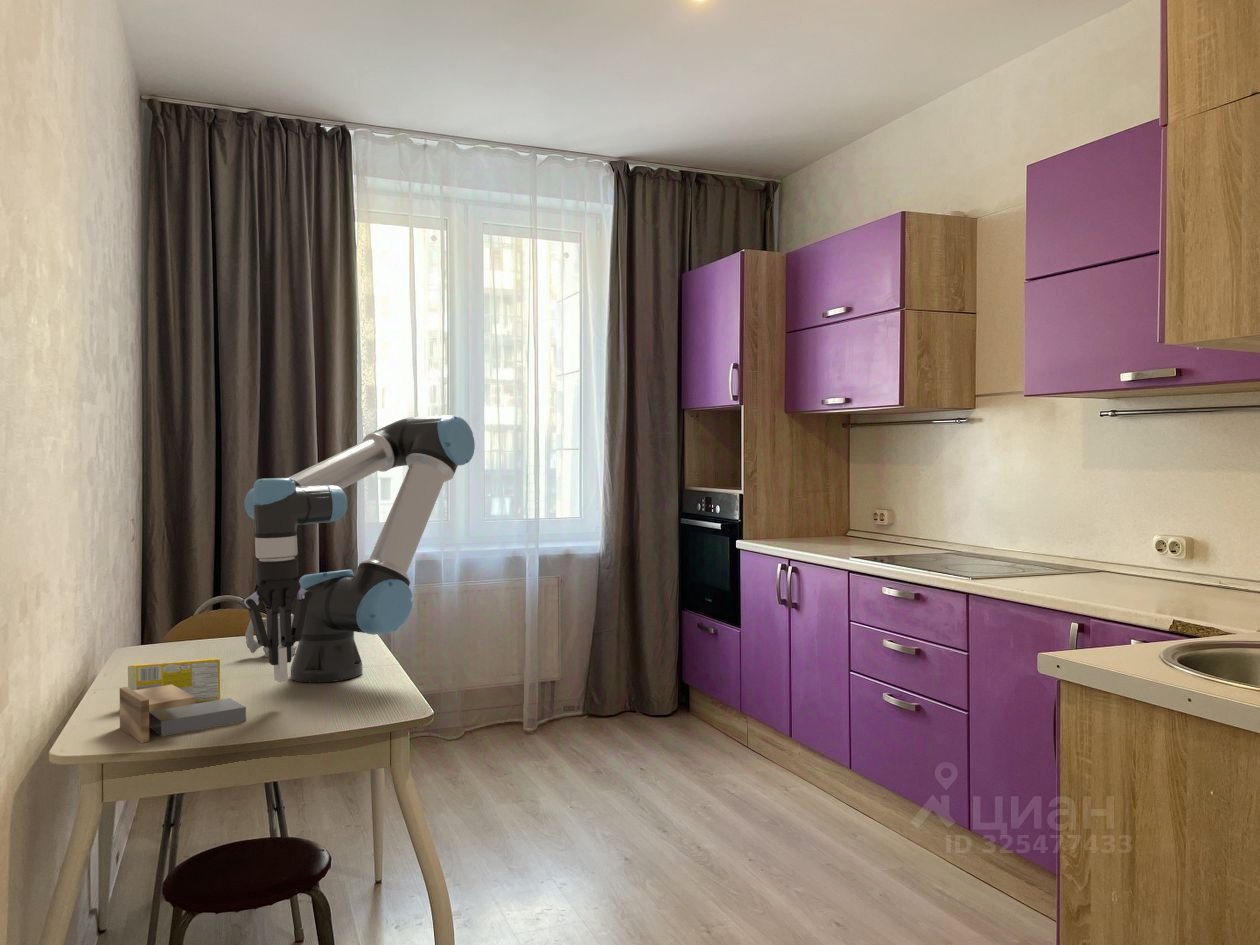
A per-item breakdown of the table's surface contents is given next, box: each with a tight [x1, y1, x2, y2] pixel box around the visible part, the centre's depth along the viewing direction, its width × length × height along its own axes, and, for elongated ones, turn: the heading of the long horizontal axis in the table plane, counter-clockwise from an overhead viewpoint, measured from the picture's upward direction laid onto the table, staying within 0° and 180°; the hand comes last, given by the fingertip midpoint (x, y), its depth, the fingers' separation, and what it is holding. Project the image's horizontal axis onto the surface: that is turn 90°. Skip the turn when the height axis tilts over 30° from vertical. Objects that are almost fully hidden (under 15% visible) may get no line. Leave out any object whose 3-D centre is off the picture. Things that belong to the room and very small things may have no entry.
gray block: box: [149, 697, 247, 737], centre depth 163 cm, size 14×9×3 cm, turn 131°
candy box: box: [127, 657, 221, 703], centre depth 177 cm, size 16×2×8 cm, turn 110°
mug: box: [244, 613, 298, 658], centre depth 223 cm, size 8×12×12 cm, turn 120°
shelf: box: [119, 685, 196, 744], centre depth 158 cm, size 9×13×7 cm, turn 43°
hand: (281, 680), depth 174 cm, fingers closed
